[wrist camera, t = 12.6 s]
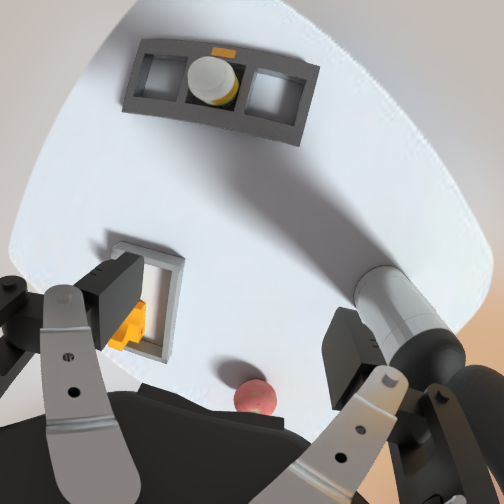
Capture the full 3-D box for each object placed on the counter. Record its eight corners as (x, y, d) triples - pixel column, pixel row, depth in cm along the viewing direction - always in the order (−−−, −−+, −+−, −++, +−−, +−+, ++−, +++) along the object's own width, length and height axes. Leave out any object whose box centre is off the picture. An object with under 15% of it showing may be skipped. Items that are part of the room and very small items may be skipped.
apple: (281, 393, 52) (281, 425, 45) (244, 400, 54) (241, 431, 46) (270, 367, 50) (269, 399, 43) (231, 375, 51) (225, 406, 44)
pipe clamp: (144, 332, 50) (131, 354, 44) (123, 325, 50) (108, 346, 44) (148, 273, 46) (132, 292, 40) (124, 266, 46) (106, 283, 39)
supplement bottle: (197, 104, 36) (175, 93, 27) (205, 68, 35) (186, 48, 26) (236, 110, 36) (224, 100, 27) (244, 74, 35) (236, 53, 26)
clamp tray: (185, 258, 44) (179, 266, 41) (171, 353, 51) (166, 364, 48) (120, 240, 44) (111, 247, 41) (116, 335, 50) (110, 344, 48)
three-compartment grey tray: (316, 72, 34) (320, 66, 31) (297, 146, 38) (299, 146, 35) (149, 44, 33) (141, 38, 30) (131, 113, 37) (120, 111, 34)
